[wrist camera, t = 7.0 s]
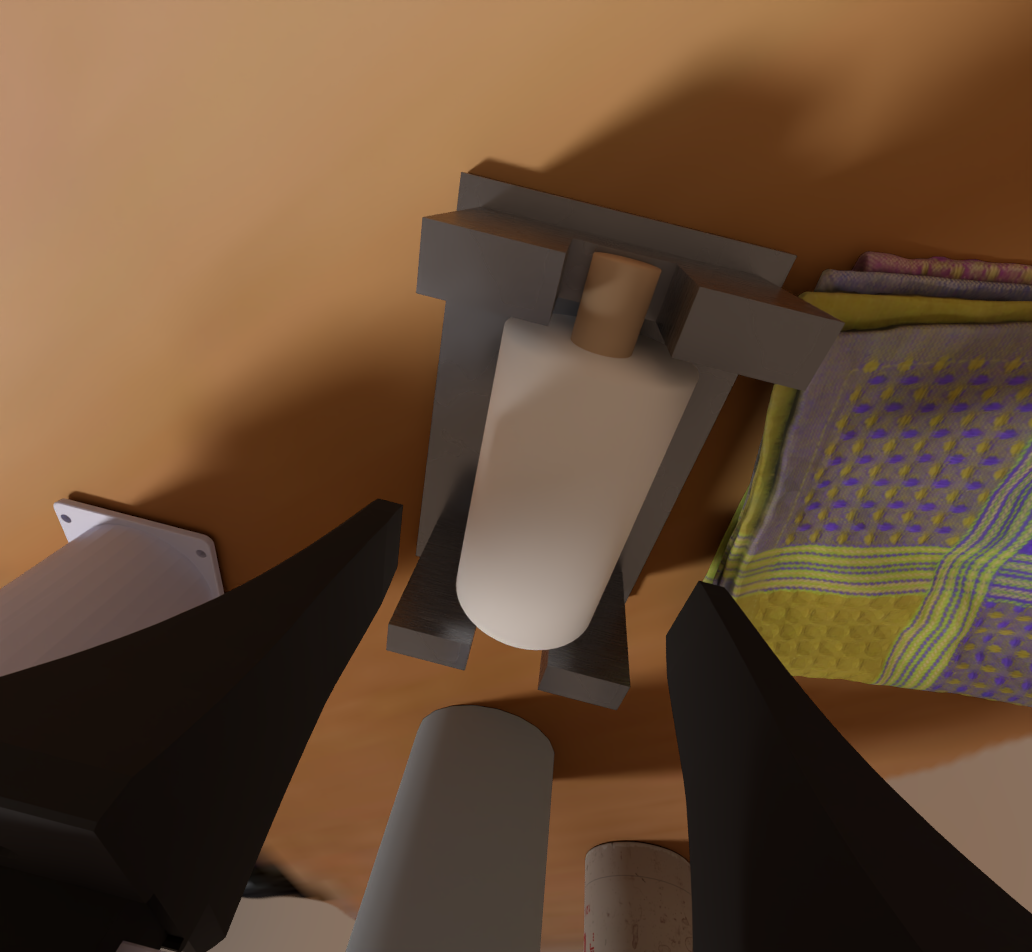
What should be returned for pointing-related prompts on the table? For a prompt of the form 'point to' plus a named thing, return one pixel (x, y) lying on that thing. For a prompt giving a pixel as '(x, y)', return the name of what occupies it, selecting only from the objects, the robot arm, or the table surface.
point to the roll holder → (535, 297)
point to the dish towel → (900, 487)
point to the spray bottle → (463, 840)
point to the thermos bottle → (637, 899)
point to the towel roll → (568, 458)
